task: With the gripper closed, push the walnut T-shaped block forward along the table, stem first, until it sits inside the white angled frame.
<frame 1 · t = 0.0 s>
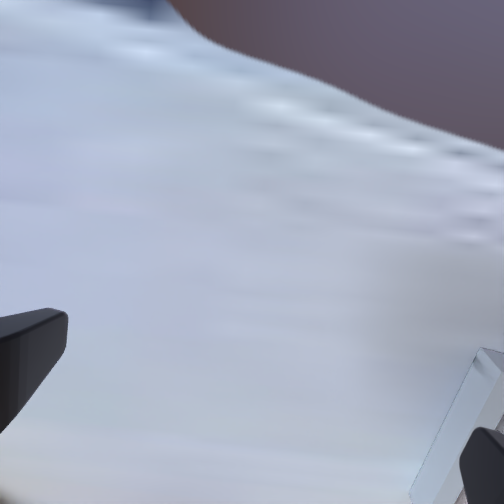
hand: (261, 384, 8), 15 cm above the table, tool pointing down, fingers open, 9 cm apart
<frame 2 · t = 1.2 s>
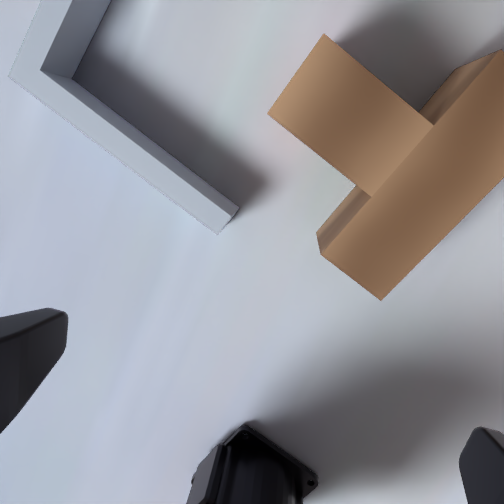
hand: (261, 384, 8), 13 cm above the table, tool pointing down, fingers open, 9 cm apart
white angled frame: (209, 18, 18), on the table
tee: (406, 178, 19), on the table
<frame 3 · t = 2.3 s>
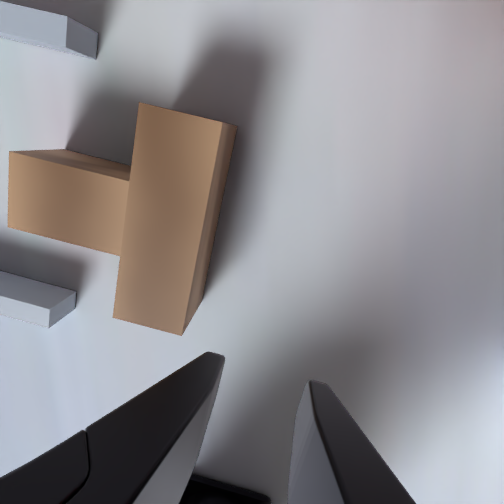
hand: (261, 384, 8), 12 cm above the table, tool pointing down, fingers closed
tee: (187, 212, 20), on the table
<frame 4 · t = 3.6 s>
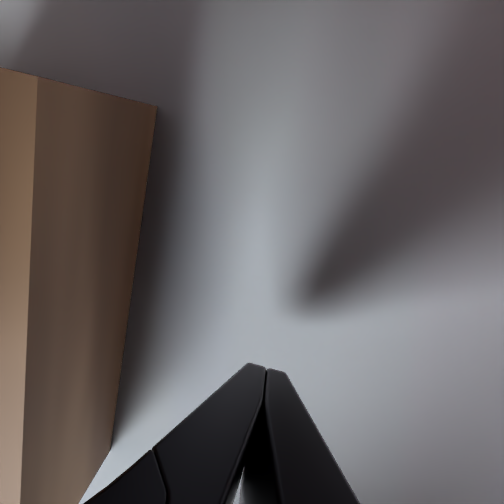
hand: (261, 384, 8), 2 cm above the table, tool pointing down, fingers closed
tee: (67, 288, 10), on the table
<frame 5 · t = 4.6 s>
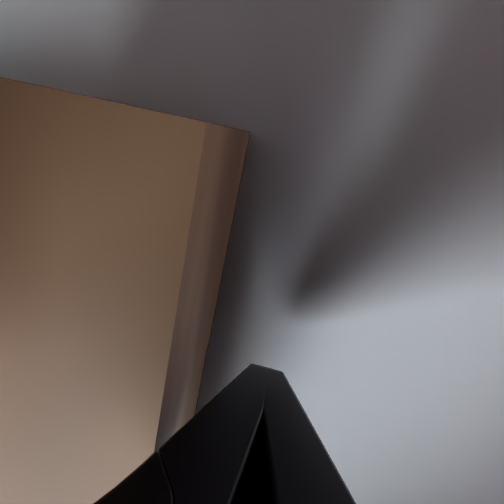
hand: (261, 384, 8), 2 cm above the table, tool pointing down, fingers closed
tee: (146, 315, 10), on the table, touching gripper
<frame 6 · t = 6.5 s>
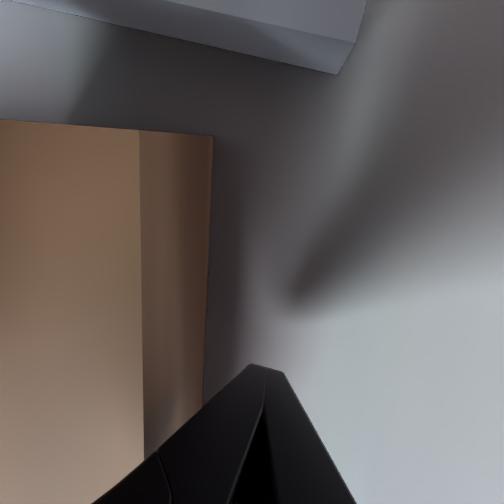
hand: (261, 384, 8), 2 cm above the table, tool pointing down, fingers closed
white angled frame: (21, 282, 10), on the table
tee: (140, 328, 10), on the table, touching gripper
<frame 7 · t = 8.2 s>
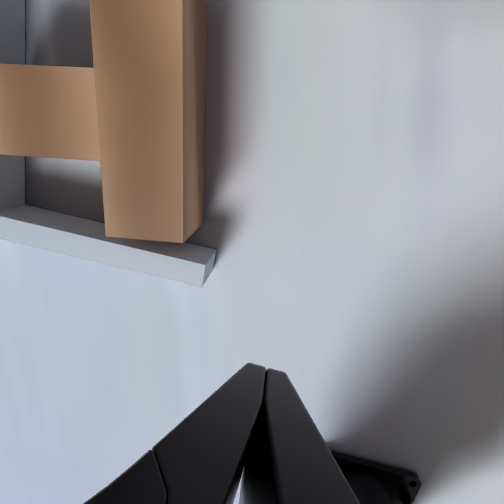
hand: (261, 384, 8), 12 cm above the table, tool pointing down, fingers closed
white angled frame: (110, 98, 18), on the table
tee: (171, 121, 18), on the table
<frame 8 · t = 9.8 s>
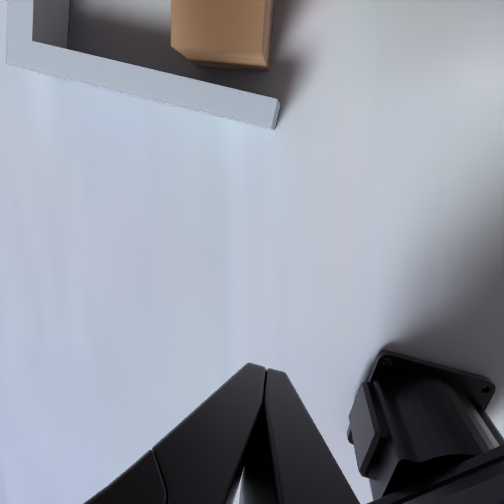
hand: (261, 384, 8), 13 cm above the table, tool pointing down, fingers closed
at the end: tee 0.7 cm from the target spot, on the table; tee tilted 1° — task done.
